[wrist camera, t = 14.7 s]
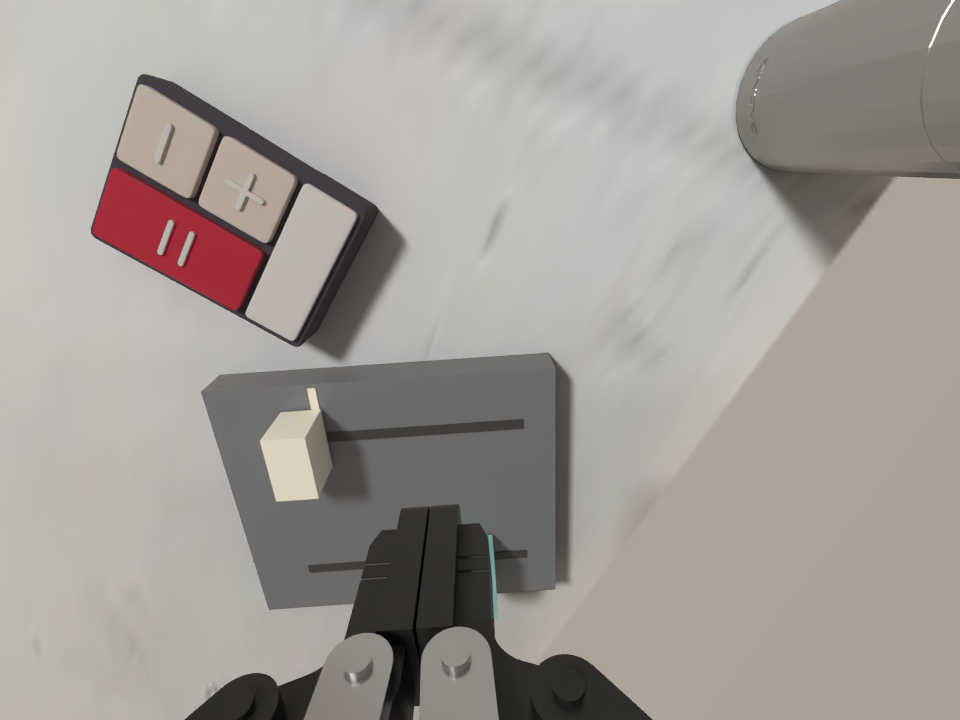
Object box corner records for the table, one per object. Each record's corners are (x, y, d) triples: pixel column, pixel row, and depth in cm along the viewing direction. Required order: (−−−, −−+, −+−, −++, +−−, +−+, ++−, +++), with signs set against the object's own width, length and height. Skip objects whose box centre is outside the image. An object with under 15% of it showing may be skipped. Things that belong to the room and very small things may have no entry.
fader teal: (492, 534, 41) (495, 571, 38) (495, 578, 43) (498, 618, 39) (457, 537, 41) (456, 574, 38) (461, 581, 43) (461, 620, 39)
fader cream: (320, 409, 36) (304, 438, 32) (332, 465, 38) (318, 498, 34) (280, 412, 36) (259, 441, 32) (294, 468, 38) (276, 501, 34)
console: (548, 352, 38) (555, 368, 36) (549, 563, 47) (555, 590, 44) (220, 375, 38) (200, 392, 35) (280, 582, 47) (268, 610, 44)
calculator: (129, 66, 27) (366, 212, 30) (175, 80, 31) (381, 207, 34) (77, 236, 31) (294, 353, 34) (125, 229, 35) (315, 334, 38)
